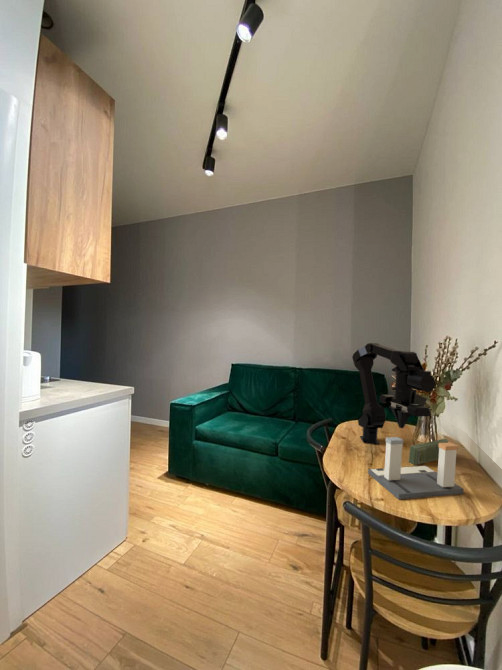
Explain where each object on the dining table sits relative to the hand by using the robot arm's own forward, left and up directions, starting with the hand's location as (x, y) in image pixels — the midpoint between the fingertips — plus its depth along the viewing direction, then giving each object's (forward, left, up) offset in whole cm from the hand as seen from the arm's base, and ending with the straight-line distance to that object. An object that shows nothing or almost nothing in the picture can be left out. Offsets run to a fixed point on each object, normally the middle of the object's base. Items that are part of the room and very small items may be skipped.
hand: (401, 427), depth 98 cm
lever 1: (+18, -9, -10) cm, 22 cm away
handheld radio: (-5, +14, -12) cm, 19 cm away
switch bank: (+16, -1, -12) cm, 20 cm away
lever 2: (+18, +6, -10) cm, 21 cm away
